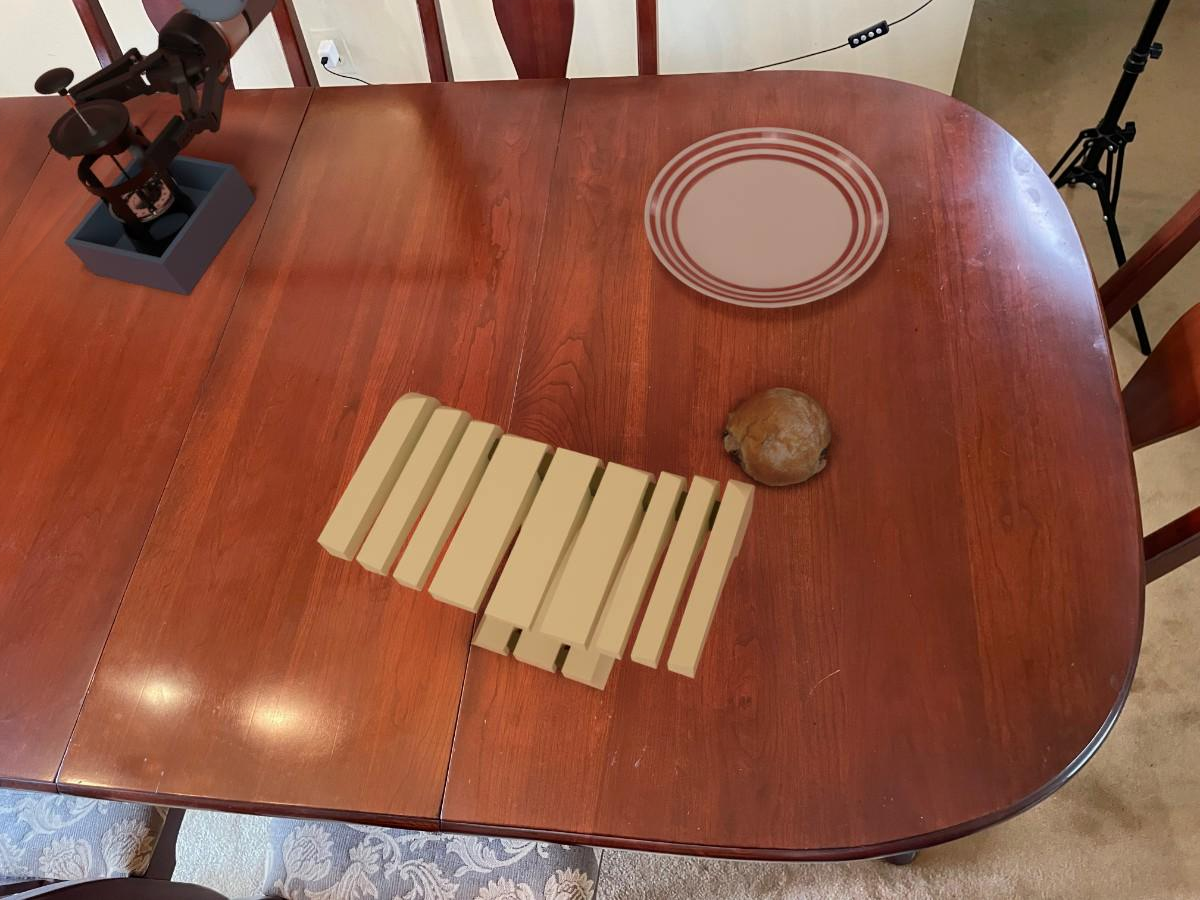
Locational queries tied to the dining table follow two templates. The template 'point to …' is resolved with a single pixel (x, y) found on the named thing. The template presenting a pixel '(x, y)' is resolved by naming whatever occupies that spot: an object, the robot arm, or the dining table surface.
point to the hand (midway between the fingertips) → (103, 155)
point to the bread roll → (779, 436)
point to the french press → (111, 134)
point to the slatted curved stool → (541, 539)
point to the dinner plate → (766, 217)
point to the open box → (168, 229)
